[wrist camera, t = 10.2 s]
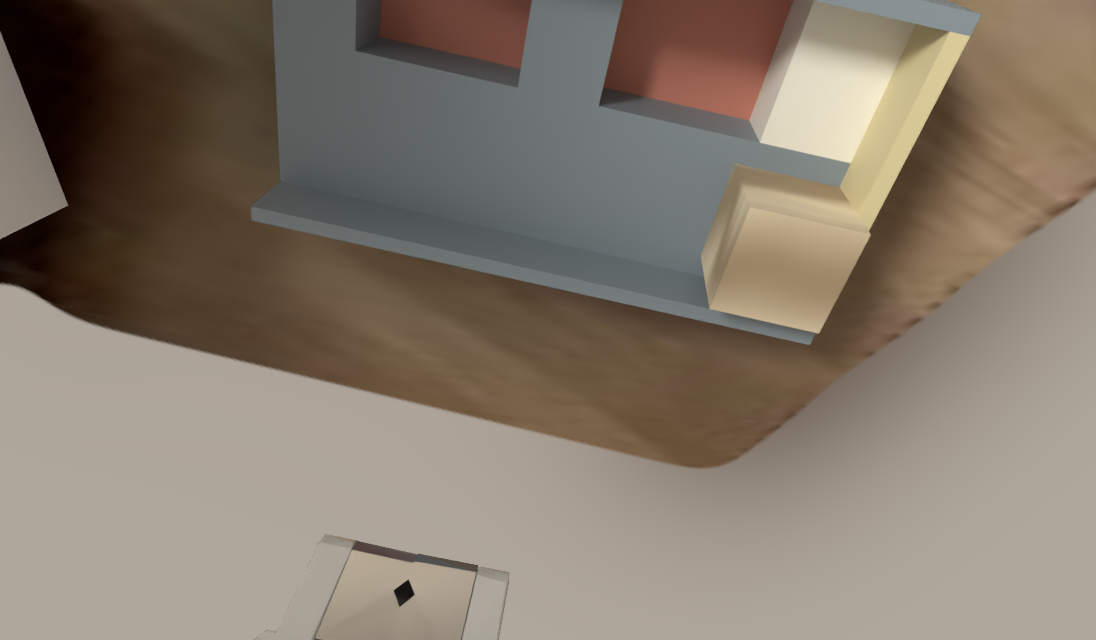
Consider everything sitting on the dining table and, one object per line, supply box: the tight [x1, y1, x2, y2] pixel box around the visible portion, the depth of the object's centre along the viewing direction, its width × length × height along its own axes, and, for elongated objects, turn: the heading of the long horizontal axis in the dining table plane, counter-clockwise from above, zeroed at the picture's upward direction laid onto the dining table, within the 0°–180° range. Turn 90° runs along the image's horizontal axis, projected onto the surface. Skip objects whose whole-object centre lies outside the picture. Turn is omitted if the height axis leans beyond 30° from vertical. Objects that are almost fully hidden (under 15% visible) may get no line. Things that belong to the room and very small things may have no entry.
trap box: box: [250, 0, 981, 345], centre depth 24 cm, size 12×22×6 cm, turn 79°
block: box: [701, 163, 871, 333], centre depth 24 cm, size 4×4×4 cm
